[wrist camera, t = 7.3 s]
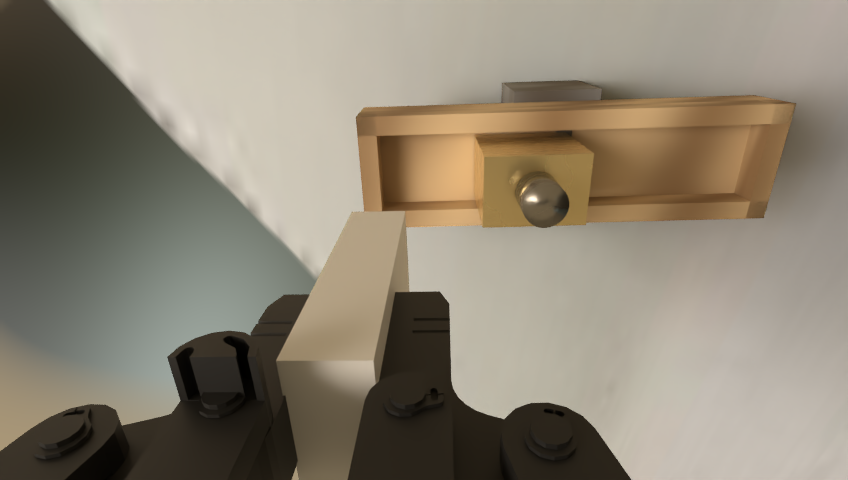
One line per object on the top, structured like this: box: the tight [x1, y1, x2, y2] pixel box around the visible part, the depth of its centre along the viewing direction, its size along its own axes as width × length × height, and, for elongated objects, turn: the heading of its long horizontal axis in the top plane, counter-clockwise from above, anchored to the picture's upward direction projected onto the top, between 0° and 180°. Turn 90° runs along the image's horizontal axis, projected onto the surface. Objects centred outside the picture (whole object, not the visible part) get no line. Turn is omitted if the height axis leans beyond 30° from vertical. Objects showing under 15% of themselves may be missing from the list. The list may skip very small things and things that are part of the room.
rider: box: [474, 132, 594, 228], centre depth 19 cm, size 4×3×6 cm
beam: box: [356, 80, 796, 227], centre depth 23 cm, size 18×6×7 cm, turn 92°
